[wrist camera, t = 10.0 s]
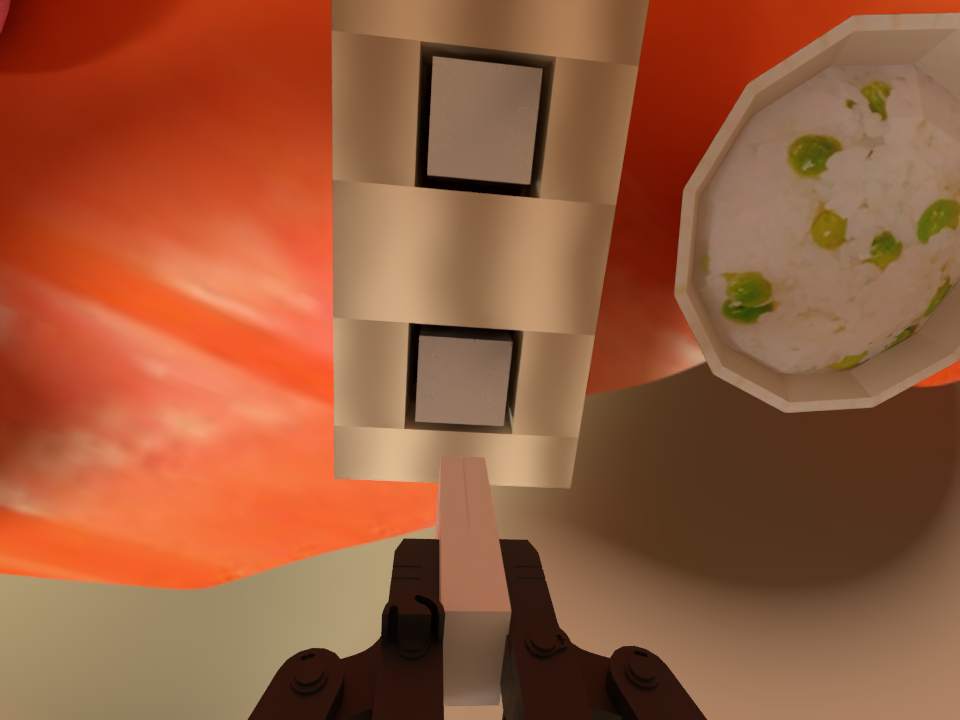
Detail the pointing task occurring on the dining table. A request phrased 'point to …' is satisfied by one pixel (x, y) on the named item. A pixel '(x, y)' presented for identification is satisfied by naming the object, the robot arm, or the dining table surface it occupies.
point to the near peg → (482, 122)
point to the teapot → (3, 12)
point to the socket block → (472, 228)
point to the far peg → (462, 375)
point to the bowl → (832, 220)
